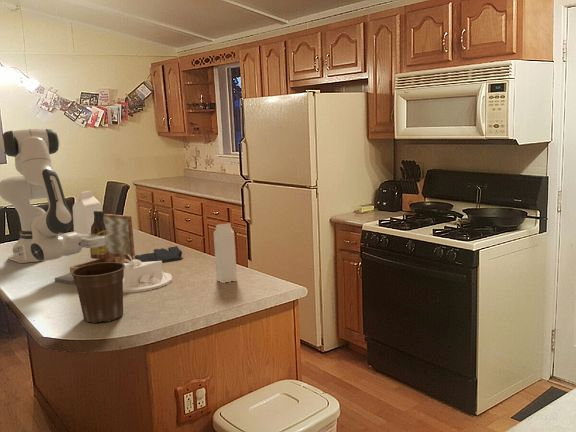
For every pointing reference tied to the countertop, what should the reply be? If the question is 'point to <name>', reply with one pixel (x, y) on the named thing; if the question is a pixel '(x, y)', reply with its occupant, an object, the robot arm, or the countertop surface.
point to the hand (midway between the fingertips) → (99, 236)
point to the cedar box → (115, 239)
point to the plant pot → (100, 290)
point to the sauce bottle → (98, 230)
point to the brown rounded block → (121, 260)
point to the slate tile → (65, 279)
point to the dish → (144, 276)
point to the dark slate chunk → (161, 255)
